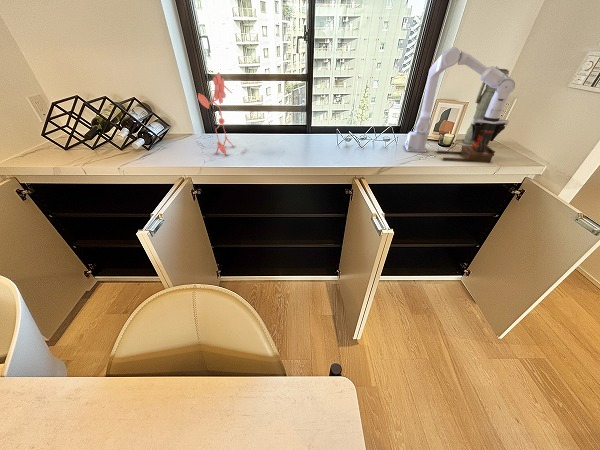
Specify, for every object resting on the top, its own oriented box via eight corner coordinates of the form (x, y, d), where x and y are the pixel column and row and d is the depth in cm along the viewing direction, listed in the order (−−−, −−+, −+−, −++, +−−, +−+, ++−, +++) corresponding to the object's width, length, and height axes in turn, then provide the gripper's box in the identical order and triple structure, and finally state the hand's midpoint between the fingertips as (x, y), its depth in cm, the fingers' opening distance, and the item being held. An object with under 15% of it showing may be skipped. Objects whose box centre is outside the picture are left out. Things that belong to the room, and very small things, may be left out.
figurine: (207, 160, 123) (188, 76, 102) (227, 142, 143) (214, 69, 122) (238, 162, 121) (225, 77, 100) (253, 143, 142) (245, 69, 121)
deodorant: (487, 152, 120) (502, 119, 111) (473, 151, 121) (487, 118, 112) (482, 148, 125) (496, 115, 116) (469, 147, 126) (482, 114, 116)
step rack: (443, 160, 123) (447, 149, 120) (437, 152, 131) (440, 141, 128) (490, 162, 120) (496, 151, 117) (481, 154, 129) (486, 143, 125)
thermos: (487, 145, 139) (520, 70, 118) (464, 145, 139) (494, 70, 118) (479, 140, 146) (509, 68, 125) (457, 139, 146) (484, 68, 125)
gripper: (481, 111, 109) (468, 142, 118) (518, 112, 108) (502, 144, 116) (474, 107, 115) (463, 137, 123) (509, 108, 113) (495, 138, 122)
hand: (481, 140), depth 120 cm, fingers open, 7 cm apart
